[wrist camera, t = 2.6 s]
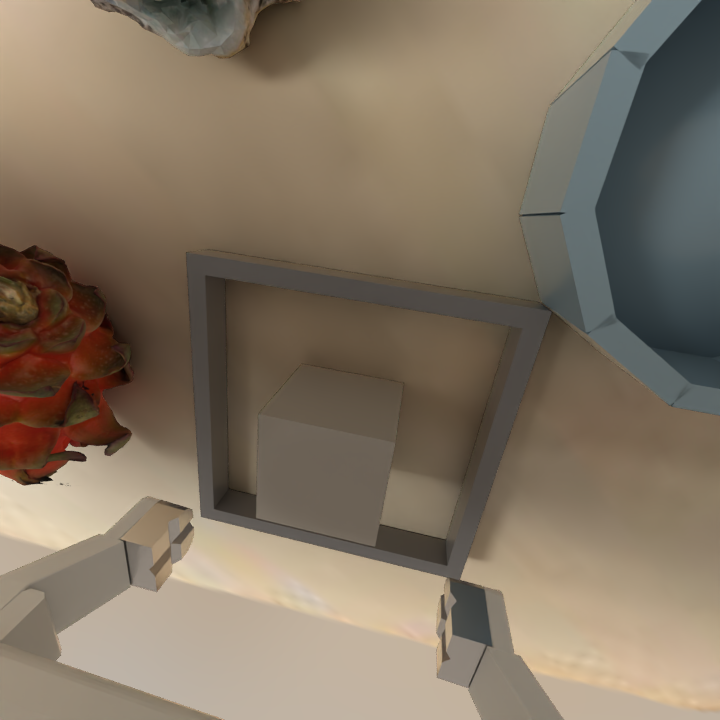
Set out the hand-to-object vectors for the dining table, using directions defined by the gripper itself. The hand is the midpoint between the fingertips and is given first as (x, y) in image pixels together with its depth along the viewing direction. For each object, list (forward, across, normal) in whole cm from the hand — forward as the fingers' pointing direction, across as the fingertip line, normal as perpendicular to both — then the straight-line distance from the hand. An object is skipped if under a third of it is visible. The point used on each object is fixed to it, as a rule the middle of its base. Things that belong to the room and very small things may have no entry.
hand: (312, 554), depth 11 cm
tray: (+8, +1, 0) cm, 8 cm away
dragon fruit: (+8, +15, -1) cm, 17 cm away
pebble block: (+8, +1, 0) cm, 8 cm away
